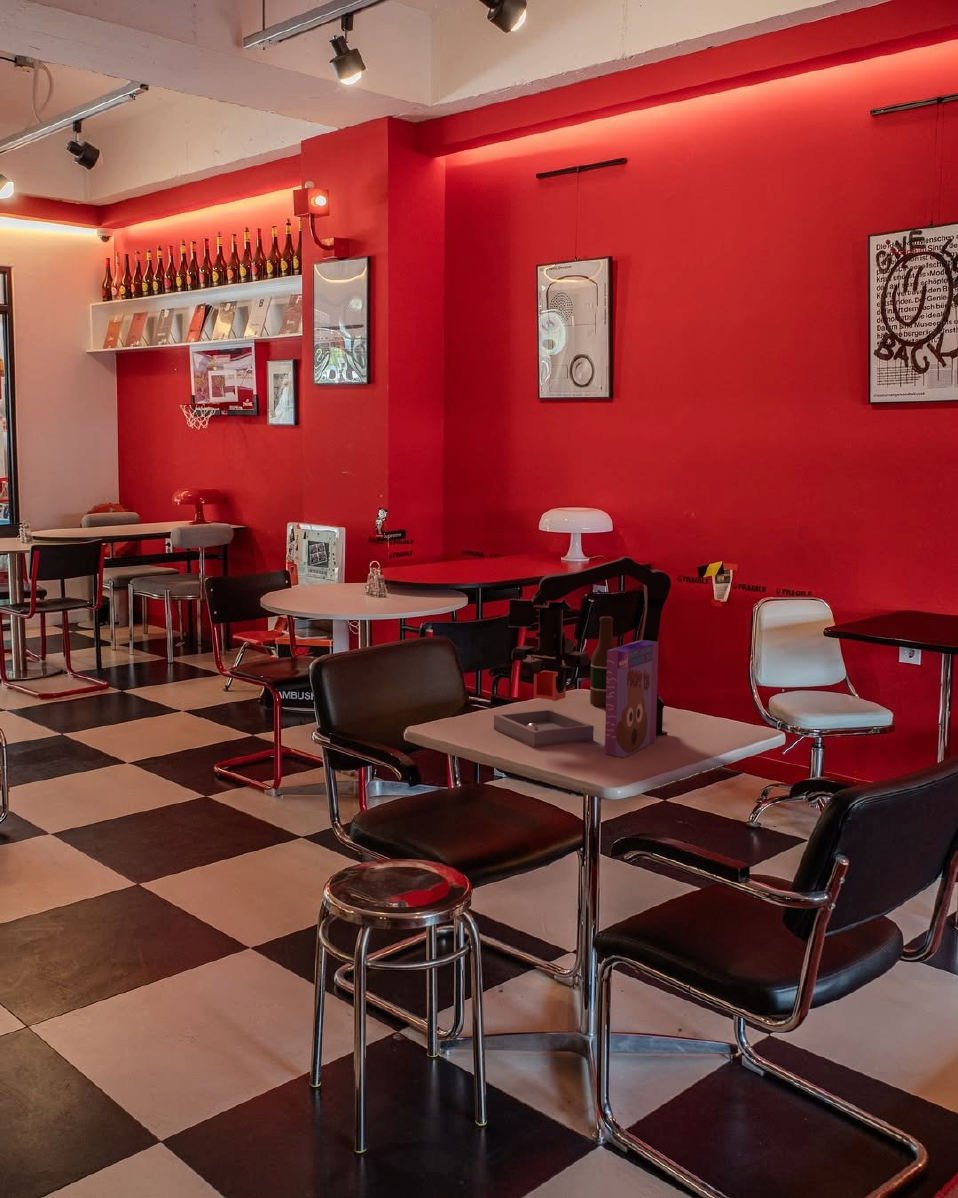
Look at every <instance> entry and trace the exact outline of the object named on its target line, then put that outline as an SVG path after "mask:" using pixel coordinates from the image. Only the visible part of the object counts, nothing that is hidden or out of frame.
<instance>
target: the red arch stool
mask: <svg viewBox="0 0 958 1198" xmlns="http://www.w3.org/2000/svg"><path fill="white" fill-rule="evenodd" d="M566 686H567V685H566ZM566 686H565V688H564V691H563V693H559V687H558V671H552V670H551V671H550V670H545V669H544V670H542V671H541V670H540V672H538V673H534V683H533V699H543V700H544V699H545V700H548V701H549V700H551V701H552V702H557V701H559V700H562V699H565V698H566V694H567V693H566Z"/></svg>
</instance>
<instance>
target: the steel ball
mask: <svg viewBox="0 0 958 1198" xmlns="http://www.w3.org/2000/svg"><path fill="white" fill-rule="evenodd" d="M526 727H529V728H531V729H533V730H536V731H538V726H537V725H536V724H534V723H530V724H528V725H527V726H526Z"/></svg>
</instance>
